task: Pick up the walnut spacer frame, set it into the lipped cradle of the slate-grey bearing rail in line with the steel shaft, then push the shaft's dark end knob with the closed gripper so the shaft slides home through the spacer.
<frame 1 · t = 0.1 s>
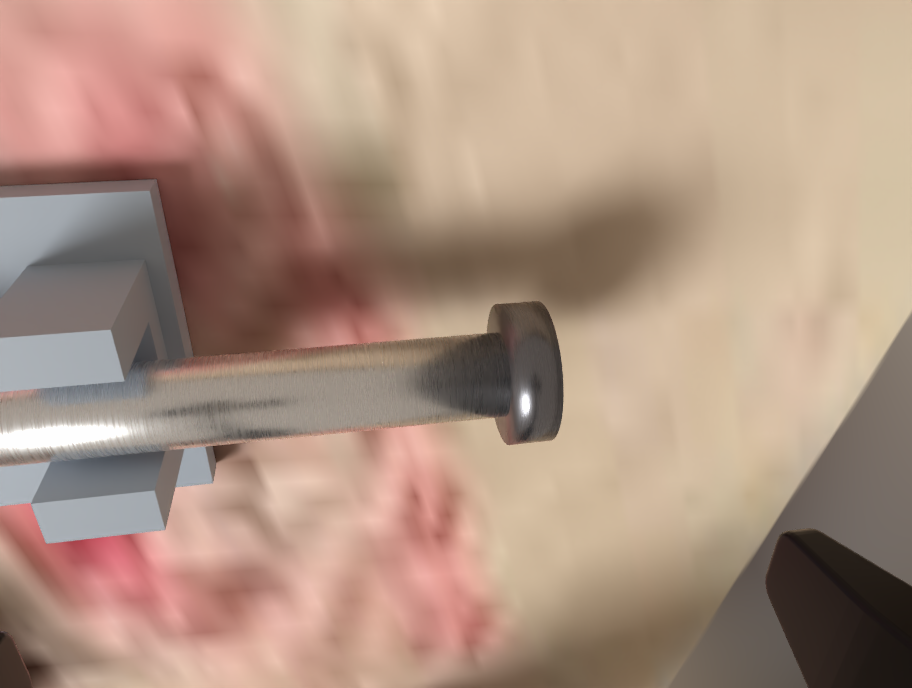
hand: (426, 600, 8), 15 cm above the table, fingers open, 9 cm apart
shaft: (154, 405, 19), point 4 cm above the table, slide at 0.0 cm
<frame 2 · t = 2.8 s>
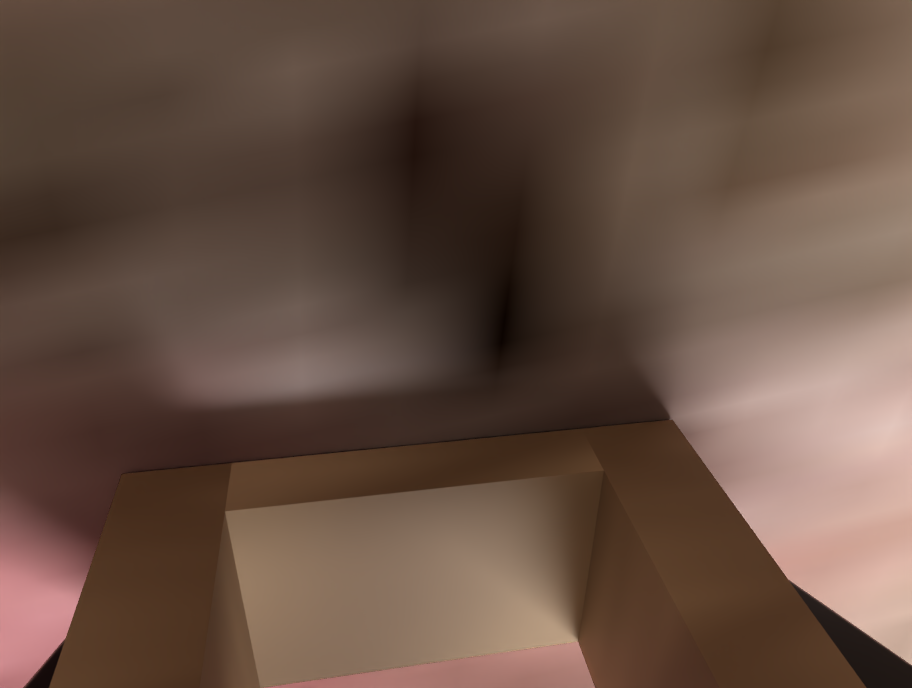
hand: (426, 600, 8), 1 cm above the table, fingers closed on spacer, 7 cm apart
spacer: (415, 536, 9), on the table, touching gripper
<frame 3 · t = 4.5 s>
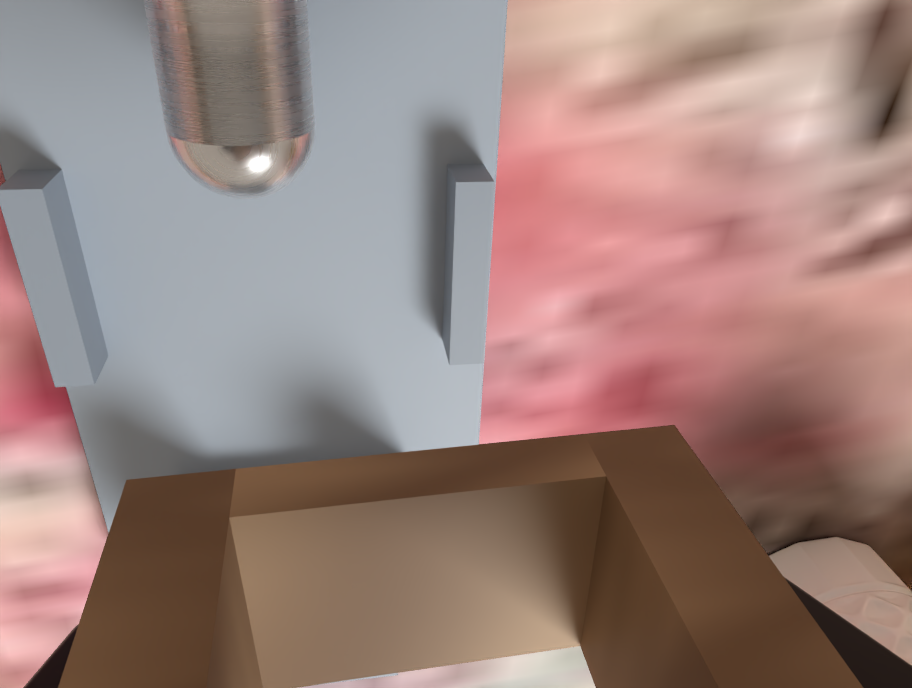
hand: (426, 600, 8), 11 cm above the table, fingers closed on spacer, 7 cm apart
bearing rail: (266, 161, 16), on the table
spacer: (418, 541, 9), point 9 cm above the table, touching gripper
white cup: (793, 594, 28), on the table, touching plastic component
when the fingers open (3 cm above the table, at t = 6.2 s): spacer drops 1 cm, resting on bearing rail.
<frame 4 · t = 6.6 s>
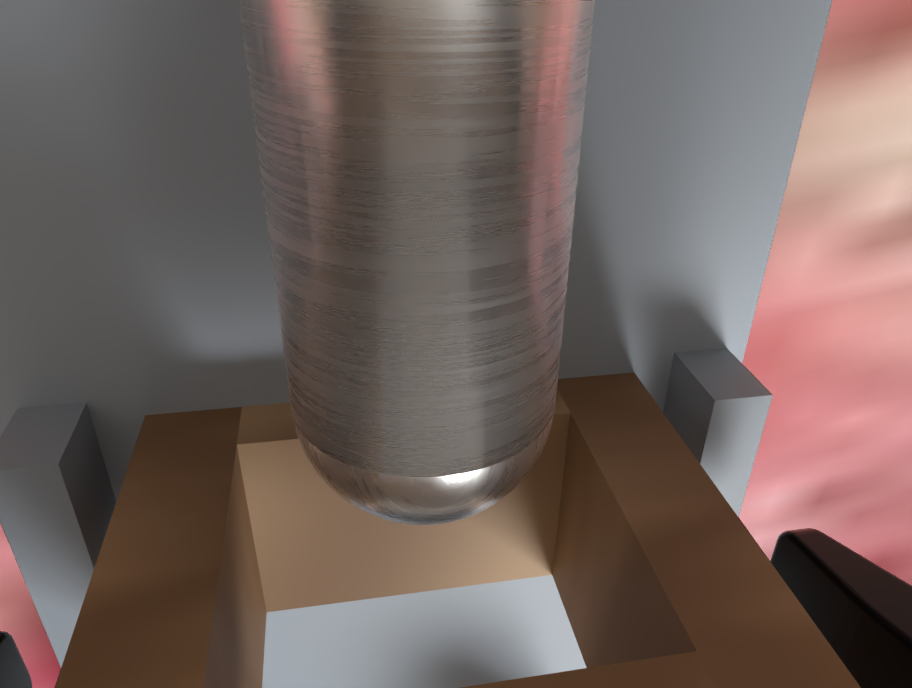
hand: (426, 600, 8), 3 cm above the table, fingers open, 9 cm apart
bearing rail: (392, 350, 11), on the table
spacer: (405, 478, 10), point 1 cm above the table, touching bearing rail
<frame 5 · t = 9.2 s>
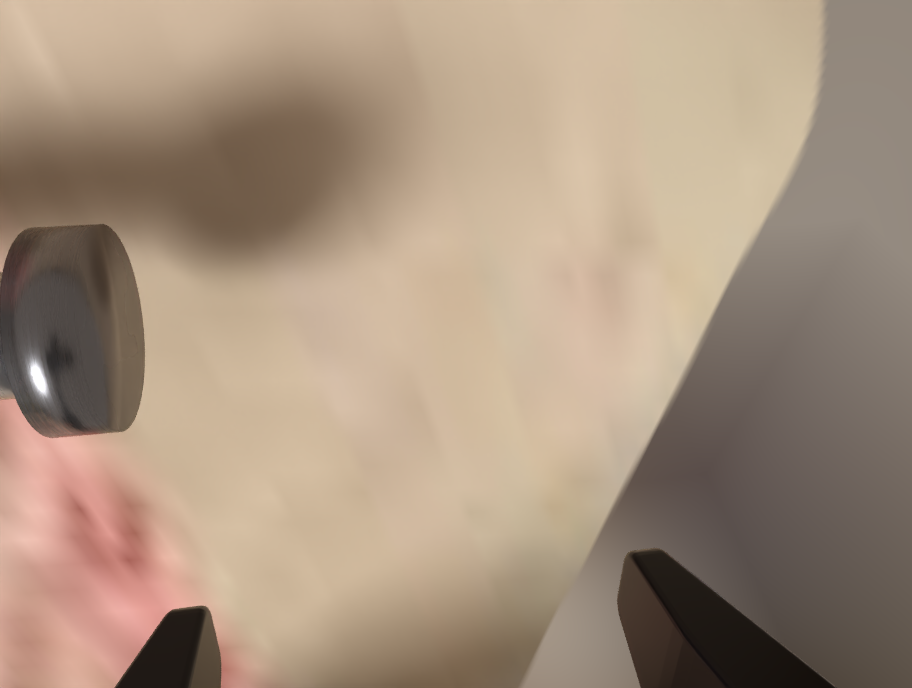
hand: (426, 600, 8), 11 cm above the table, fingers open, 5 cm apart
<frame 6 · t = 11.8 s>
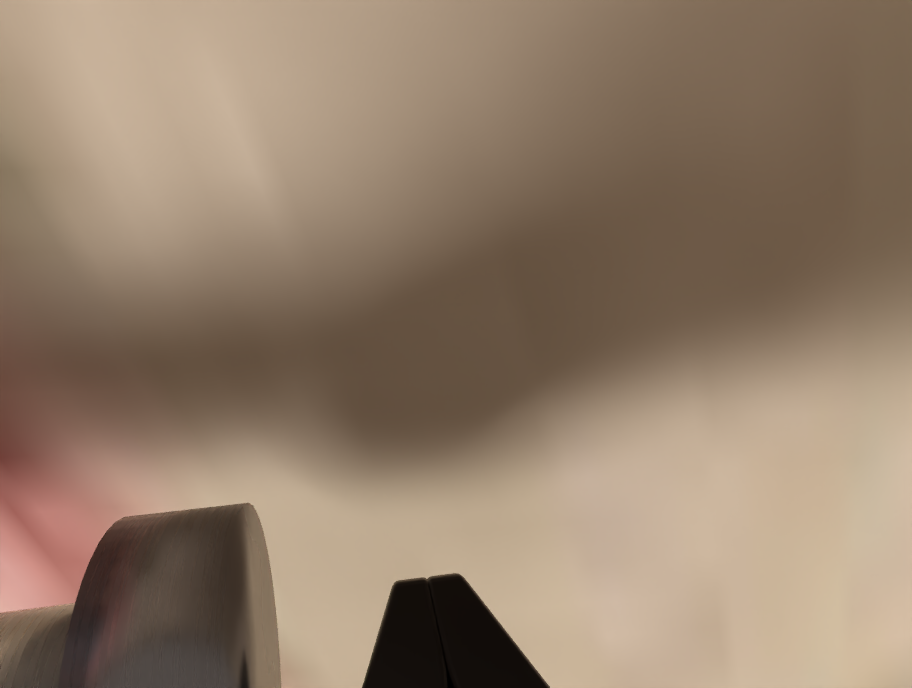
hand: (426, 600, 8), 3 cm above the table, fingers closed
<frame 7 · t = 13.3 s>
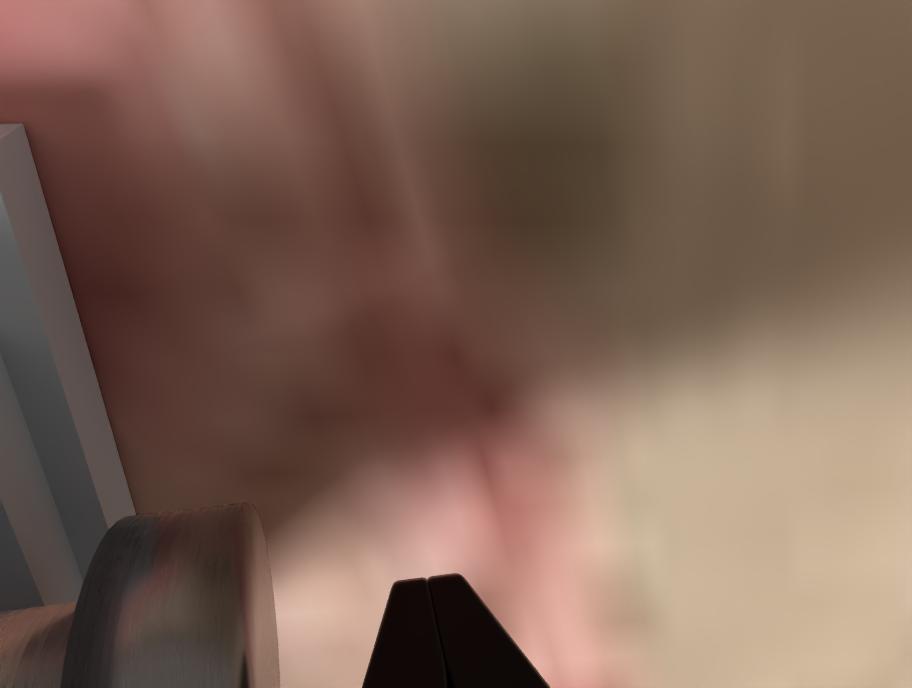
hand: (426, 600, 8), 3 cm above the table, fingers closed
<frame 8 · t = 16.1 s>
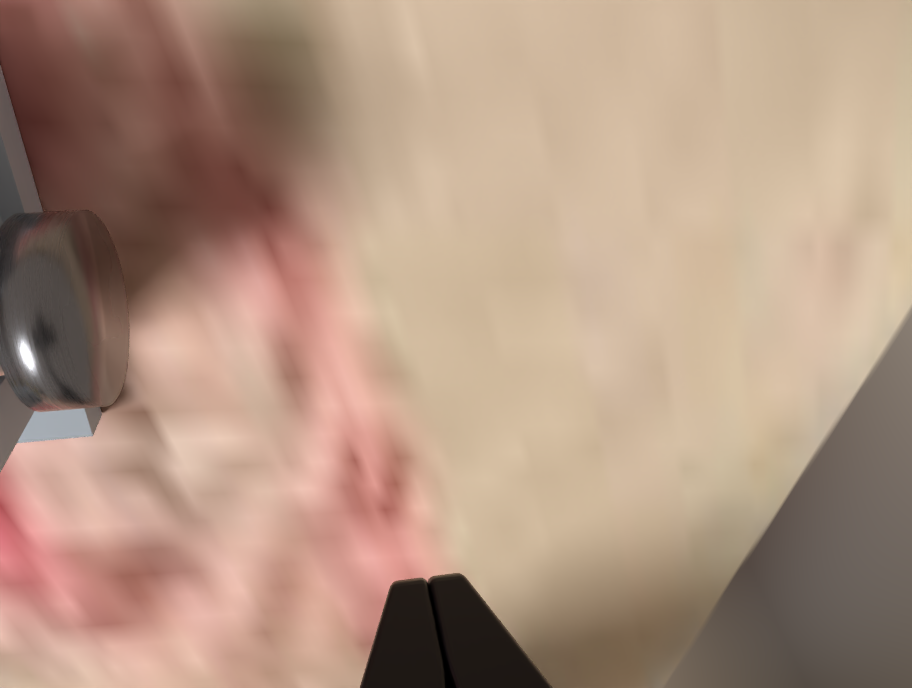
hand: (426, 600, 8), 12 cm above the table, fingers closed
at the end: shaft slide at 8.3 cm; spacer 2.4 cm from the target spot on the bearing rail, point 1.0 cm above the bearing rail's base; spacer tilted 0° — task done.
